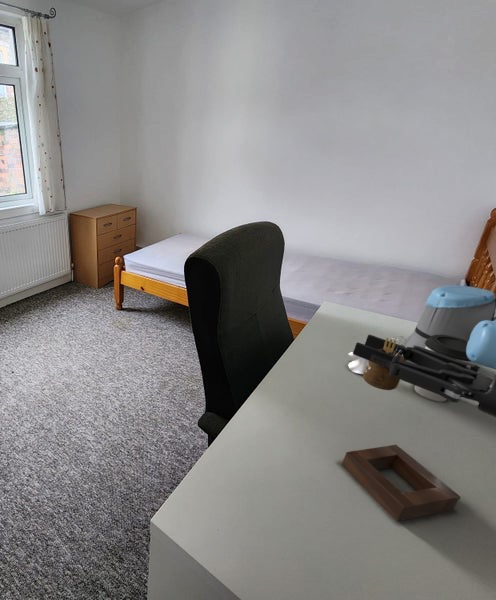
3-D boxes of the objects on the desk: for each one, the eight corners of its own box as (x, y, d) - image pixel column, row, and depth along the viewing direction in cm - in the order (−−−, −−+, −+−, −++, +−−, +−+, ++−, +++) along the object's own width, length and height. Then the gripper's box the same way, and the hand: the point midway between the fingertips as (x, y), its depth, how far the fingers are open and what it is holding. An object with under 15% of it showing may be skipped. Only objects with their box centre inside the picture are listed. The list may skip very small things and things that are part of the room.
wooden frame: (389, 457, 69) (396, 444, 68) (452, 510, 59) (461, 496, 57) (341, 464, 67) (346, 451, 66) (396, 521, 57) (404, 507, 56)
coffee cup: (467, 408, 82) (497, 356, 76) (420, 403, 84) (445, 351, 78) (438, 384, 91) (463, 335, 85) (397, 379, 93) (418, 331, 87)
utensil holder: (401, 384, 73) (421, 336, 68) (388, 395, 70) (409, 345, 65) (369, 371, 77) (386, 324, 73) (356, 380, 74) (373, 333, 69)
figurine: (352, 376, 94) (366, 339, 89) (338, 360, 101) (350, 325, 96) (382, 379, 93) (398, 341, 88) (366, 363, 100) (380, 327, 95)
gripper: (497, 443, 54) (337, 372, 71) (518, 400, 63) (372, 346, 81) (521, 406, 51) (348, 341, 68) (539, 366, 60) (382, 318, 78)
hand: (361, 344), depth 75 cm, fingers closed on utensil holder, 5 cm apart
